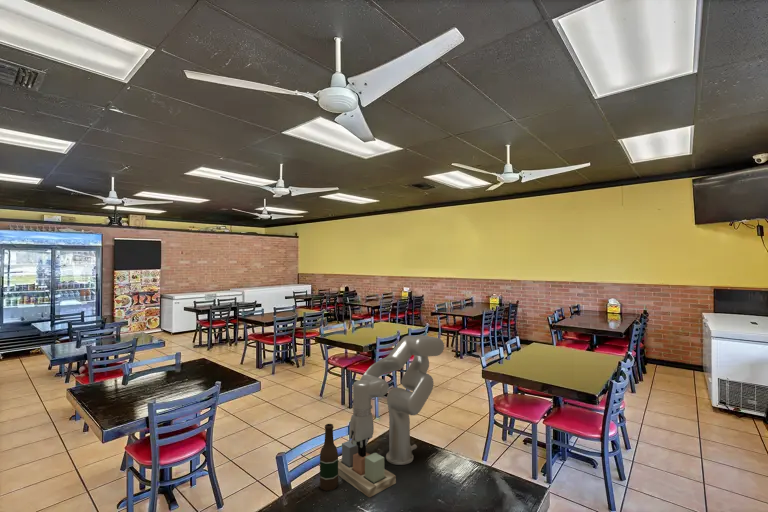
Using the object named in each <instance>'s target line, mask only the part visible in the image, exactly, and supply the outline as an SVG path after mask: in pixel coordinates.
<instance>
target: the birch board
mask: <svg viewBox="0 0 768 512" xmlns="http://www.w3.org/2000/svg"><path fill="white" fill-rule="evenodd" d="M338 461H339V462H338V477H340V478H341V479H342V480H344V481H345V482H347V483H348V484H350V485H351V486H353V487H354V488H355V489H357V490H358V491H359V492H360V493H362V494H363V495H365V496H366V497H368V498H372V497H373V496H375V495H377V494H379V493H380V492H382V491H384V490H386V489H389V488H391V487H392V486H394V485H395V484H397V476H396V475H395V474H394V473H393V472H391V471H389V470H387V469H385V468H384V478H383V479H381V480H379V481H377V482H375V483H373V482H371V481H370V480H368V479H367V478H365V474H364V475H362V476H361V475H359V474H358V473H356V472H355V471H353V466H351V467H349V466H347V465H346V464H344V463H343V462H342V458H341V459H338Z"/></svg>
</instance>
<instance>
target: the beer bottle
mask: <svg viewBox="0 0 768 512" xmlns="http://www.w3.org/2000/svg"><path fill="white" fill-rule="evenodd" d="M338 460H339V452H338V448H337V445H336V444H335V443H334V423H333V424H332V423H326V424H325V425H324V443H323V446H322V447H321V449H320V451H319V486H320V488H319V489H321V490H322V491H326V492H329V491H334V490H335V489H337V488H338V486H339V476H338Z"/></svg>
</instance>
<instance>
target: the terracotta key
mask: <svg viewBox="0 0 768 512" xmlns="http://www.w3.org/2000/svg"><path fill="white" fill-rule="evenodd" d="M369 455H371V454H370V453H368V452H367V451H366V456H369ZM366 456H364V457H361V456H360V455H358V453H357V454H354V455H353V466H352V467H353V471H355V472H356V473H358V474H359V475H361V476H362V475H364V474H365V457H366Z"/></svg>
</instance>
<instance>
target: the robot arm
mask: <svg viewBox="0 0 768 512" xmlns="http://www.w3.org/2000/svg"><path fill="white" fill-rule="evenodd" d="M444 349H445V343H444V341H443V340H442V339H441V338H440V337H435V336H431V335H430V336H429V335H422V334H420V335H419V334H418V335H416V336H415V335H414V336H413V335H405V336H403V337H402V338H401V339H400V341H398V343H397V344H396V345H395V347H394V348H393V349H392V350H391V352H390V353H389V354H388V355H387V356H386V357H383V358H381V359H379V360H378V361H375V362H374V363H372V364H371V365H370V366H369V367H368V368H367V369H366V371H365V372H364V373H363V375H362V376H361V378H360V379H358V380H356V381H354V383H353V385H352V386H353V389H352V395H353V396H352V398H353V399H352V400H353V401H352V404H353V405H352V407H353V409H352V413H353V414H352V415H351V417H350V421H349V422H350V423H349V431H348V434H349V439H350V440H352V441H351V444H352V445H357V446H358V455H360V456H361V457H364V456H366V452H367V446H368V443H369V441H370V440H371V439H372V438H373V435H374V432H375V431H374V419H373V418H374V417H373V413H372V409H373V405H372V398H382V397H384V396H385V395H386V402H387V404H386V405H387V409H388V421H389V422H388V423H389V425H388V426H389V427H388V429H389V431H388V432H389V433H388V435H389V439H388V440H389V446H388V448H389V451H388V452H387V453H386V455H385V459H386V461H387V462H388V463H390V464H391V465H396V466H404V465H408V464H410V463H412V462H413V460H414V454H413V450H416V449H417V448H418V446H417V444H412V445H411V431H410V430H411V427H410V425H411V423H410V422H411V421H410V420H411V419H410V416H417V415H418V414H419V413H420V412H421V410H422V409H423V407H424V406H425V404H426V402H427V400H428V399H429V397H430V395H431V393H432V392H433V388H434V378H433V377H432V375H430V374H429V373H427V372H428V370H429V367H430V361H429V360H430V359H429V357H436V356H440V355H442V353H443V352H444ZM412 356H413V359H412V361H411V363H410V364H409V366H408V367H407V368H406V371H405V372H404V374H403V375H402V377H401V385H402V387H403V388H401V387H393V388H391V389H389V388H390V386H389V383H388V381H387V380H385V379H383V378H380V377H381V376H383V375H384V374H388V373H390V372H392V373H393V372H396V371H397V372H398V371H400V370H402V368H404V366H405V365H406V363H407V362H408V361H409V360H410V358H411V357H412ZM404 388H405V389H404Z"/></svg>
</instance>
